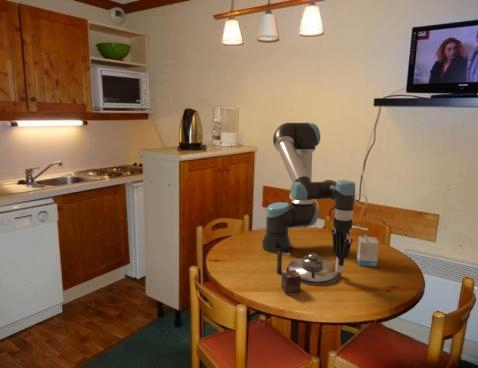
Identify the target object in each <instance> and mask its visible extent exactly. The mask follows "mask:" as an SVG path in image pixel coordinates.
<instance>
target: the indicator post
mask: <svg viewBox="0 0 478 368" xmlns="http://www.w3.org/2000/svg"><path fill="white" fill-rule="evenodd" d="M276 256H277V257H276V259H277V260H276V261H277V263H276V274H277V275H282V271H283V270H282V266H283V263H282V262H283V256H291V253H290V252H282V251H278V252H277V255H276Z"/></svg>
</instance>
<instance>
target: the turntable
mask: <svg viewBox="0 0 478 368" xmlns="http://www.w3.org/2000/svg"><path fill="white" fill-rule="evenodd" d="M302 258H303V257H301V258H297V259H293V260H291V261H290V262H289V264H288V266H289V270H296V271H297V272H298V274H299V275H300V276H301V280H302V281H306V282H311V283H325V282H329V281H332V280H334V279H335V278H336V277H337V272H336V271H335V267H336V259H331V262H329V261H326V260H324V259H323V269H322V270H321V271H319V272H309V271H306V270H304V269H303V268H302Z"/></svg>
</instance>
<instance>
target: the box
mask: <svg viewBox="0 0 478 368" xmlns="http://www.w3.org/2000/svg"><path fill="white" fill-rule="evenodd" d="M280 283H281V290H282V291H283V293H285V295H286V296H287V295H295V294H301V286H302V283H301V276H300V275H299V274H298V272H297V271H296V270H289V271H286V270H281V282H280Z"/></svg>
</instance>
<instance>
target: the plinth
mask: <svg viewBox="0 0 478 368" xmlns="http://www.w3.org/2000/svg"><path fill="white" fill-rule="evenodd" d="M285 271H289V265H288V266H287V267H286V270H285ZM339 280H340V272H337V277H336V278H335V279H334V280H332V281H329V282H325V283H311V282H306V281H302V280H301V284H304V285H308V286H314V287H315V286H319V287H320V286H322V287H323V286H329V285H333V284H335V283H337V282H338V281H339Z"/></svg>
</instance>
